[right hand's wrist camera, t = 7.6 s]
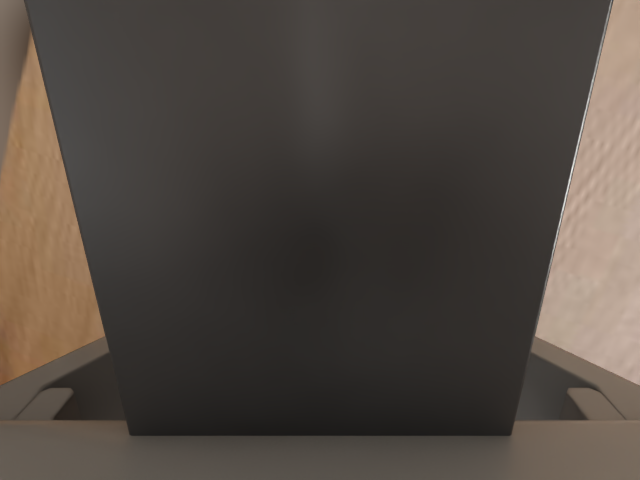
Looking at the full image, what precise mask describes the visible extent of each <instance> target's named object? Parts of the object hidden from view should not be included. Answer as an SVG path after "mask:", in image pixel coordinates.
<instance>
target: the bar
mask: <svg viewBox="0 0 640 480" xmlns="http://www.w3.org/2000/svg"><path fill="white" fill-rule="evenodd" d="M24 2H25V7H26V11H27V15H28V19H29V23H30V27H31V31H32V35H33V40H34V44H35V48H36V52H37V56H38V60H39V64H40V68H41V72H42V77H43V81H44V85H45V89H46V93H47V97H48V101H49V105H50V110H51V114H52V118H53V122H54V126H55V130H56V134H57V138H58V143H59V147H60V151H61V155H62V159H63V163H64V167H65V171H66V175H67V180H68V184H69V188H70V192H71V196H72V200H73V204H74V208H75V213H76V217H77V221H78V225H79V229H80V233H81V237H82V241H83V246H84V250H85V254H86V258H87V262H88V266H89V270H90V274H91V279H92V283H93V287H94V291H95V295H96V299H97V303H98V307H99V311H100V316H101V320H102V324H103V328H104V332H105V336H106V340H107V344H108V349H109V353H110V357H111V361H112V365H113V369H114V373H115V377H116V382H117V386H118V390H119V394H120V398H121V402H122V406H123V410H124V414H125V419H126V423H127V427H128V431H129V435H131V436H510V435H512V431H513V426H514V422H515V418H516V414H517V409H518V405H519V401H520V397H521V392H522V388H523V384H524V379H525V375H526V371H527V367H528V362H529V358H530V354H531V350H532V345H533V341H534V337H535V333H536V328H537V324H538V320H539V315H540V311H541V307H542V303H543V298H544V294H545V290H546V286H547V281H548V277H549V273H550V268H551V264H552V260H553V256H554V251H555V247H556V243H557V239H558V234H559V230H560V226H561V222H562V217H563V213H564V209H565V204H566V200H567V196H568V192H569V187H570V183H571V179H572V175H573V170H574V166H575V162H576V157H577V153H578V149H579V145H580V140H581V136H582V132H583V128H584V123H585V119H586V115H587V111H588V106H589V102H590V98H591V93H592V89H593V85H594V81H595V76H596V72H597V68H598V64H599V59H600V55H601V51H602V46H603V42H604V38H605V34H606V29H607V25H608V21H609V17H610V12H611V8H612V4H613V0H24Z"/></svg>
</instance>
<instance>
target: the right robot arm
mask: <svg viewBox="0 0 640 480" xmlns="http://www.w3.org/2000/svg"><path fill="white" fill-rule="evenodd" d="M0 480H640V386H639V385H637V384H635V383H633V382H631V381H629V380H627V379H624V378H622V377H620V376H618V375H616V374H614V373H612V372H610V371H607V370H605V369H603V368H601V367H599V366H597V365H595V364H593V363H591V362H588V361H586V360H584V359H582V358H580V357H578V356H576V355H574V354H572V353H569V352H567V351H565V350H563V349H561V348H559V347H557V346H555V345H552V344H550V343H548V342H546V341H544V340H542V339H540V338H538V337H536V336H535V337H534V341H533V345H532V350H531V354H530V358H529V362H528V367H527V371H526V375H525V379H524V384H523V388H522V392H521V397H520V401H519V405H518V409H517V414H516V418H515V422H514V426H513V431H512V435H510V436H131V435H129V431H128V427H127V423H126V419H125V414H124V410H123V406H122V402H121V398H120V394H119V390H118V386H117V382H116V377H115V373H114V369H113V365H112V361H111V357H110V353H109V349H108V344H107V340H106V336H104V337H102V338H100V339H98V340H96V341H94V342H92V343H90V344H88V345H85V346H83V347H81V348H79V349H77V350H75V351H73V352H71V353H68V354H66V355H64V356H62V357H60V358H58V359H56V360H54V361H51V362H49V363H47V364H45V365H43V366H41V367H39V368H37V369H34V370H32V371H30V372H28V373H26V374H24V375H22V376H20V377H17V378H15V379H13V380H11V381H9V382H7V383H5V384H3V385H1V386H0Z"/></svg>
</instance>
